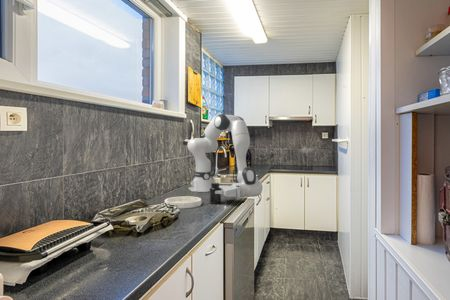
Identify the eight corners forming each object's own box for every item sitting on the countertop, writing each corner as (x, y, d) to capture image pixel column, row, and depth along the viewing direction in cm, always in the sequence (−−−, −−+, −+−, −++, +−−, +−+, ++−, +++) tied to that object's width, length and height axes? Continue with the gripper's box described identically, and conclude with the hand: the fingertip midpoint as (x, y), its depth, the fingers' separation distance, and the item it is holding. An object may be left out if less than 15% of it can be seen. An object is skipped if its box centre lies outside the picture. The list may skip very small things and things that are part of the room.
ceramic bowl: (160, 203, 197) (160, 198, 197) (193, 199, 207) (193, 195, 207) (171, 209, 179) (171, 204, 179) (206, 206, 188) (206, 200, 188)
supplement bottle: (207, 202, 197) (207, 183, 197) (216, 201, 202) (216, 182, 201) (213, 204, 192) (213, 184, 192) (223, 203, 196) (223, 183, 196)
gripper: (232, 182, 209) (210, 183, 206) (240, 187, 189) (216, 188, 186) (232, 192, 209) (210, 193, 207) (240, 198, 189) (216, 199, 187)
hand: (213, 191), depth 196 cm, fingers closed on supplement bottle, 7 cm apart
